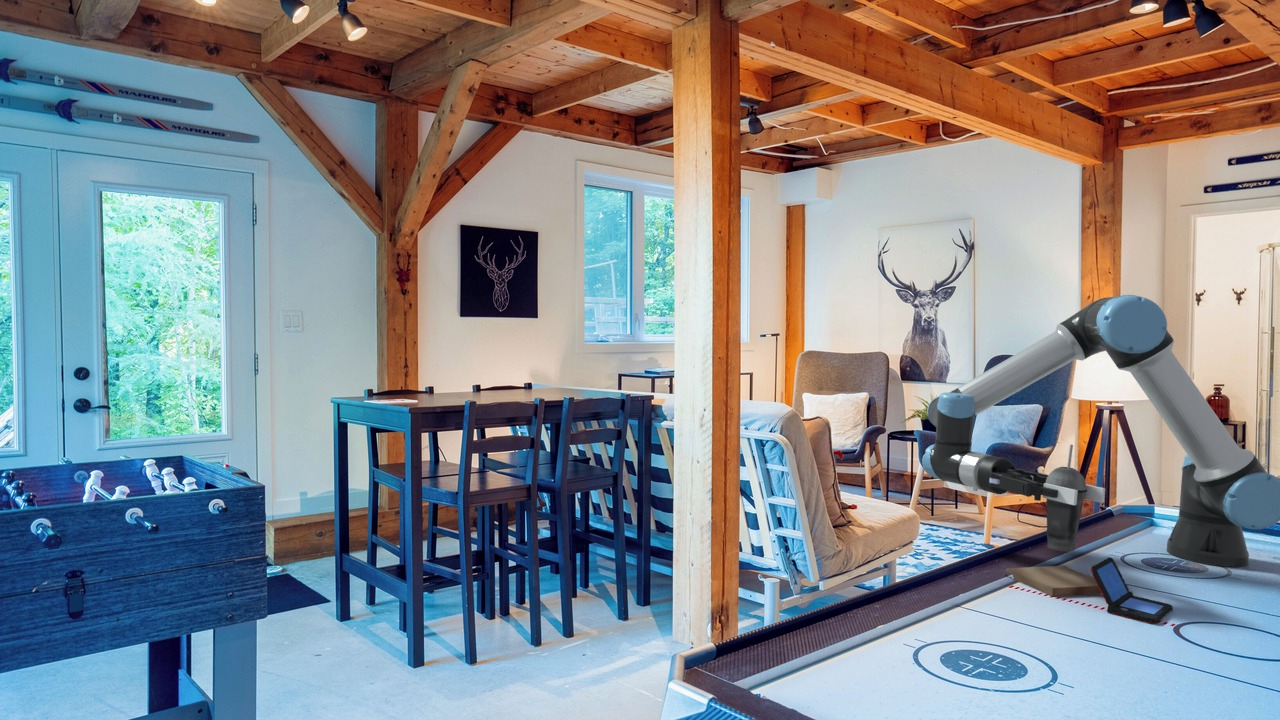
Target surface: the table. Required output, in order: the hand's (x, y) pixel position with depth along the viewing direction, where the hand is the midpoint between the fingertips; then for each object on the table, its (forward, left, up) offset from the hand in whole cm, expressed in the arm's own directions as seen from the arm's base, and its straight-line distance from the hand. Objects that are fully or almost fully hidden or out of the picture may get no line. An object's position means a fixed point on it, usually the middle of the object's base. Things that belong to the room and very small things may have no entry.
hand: (1089, 496), depth 155 cm
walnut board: (+1, -5, -18) cm, 19 cm away
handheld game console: (-2, +9, -18) cm, 20 cm away
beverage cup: (+1, -5, -11) cm, 12 cm away
